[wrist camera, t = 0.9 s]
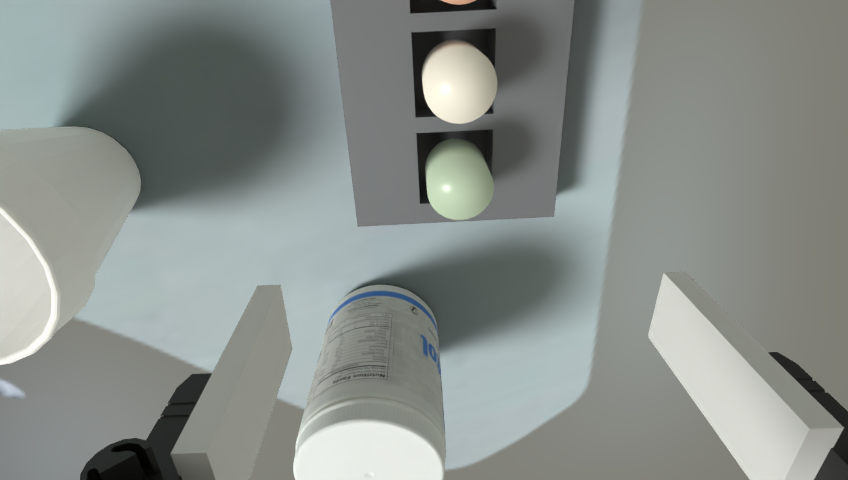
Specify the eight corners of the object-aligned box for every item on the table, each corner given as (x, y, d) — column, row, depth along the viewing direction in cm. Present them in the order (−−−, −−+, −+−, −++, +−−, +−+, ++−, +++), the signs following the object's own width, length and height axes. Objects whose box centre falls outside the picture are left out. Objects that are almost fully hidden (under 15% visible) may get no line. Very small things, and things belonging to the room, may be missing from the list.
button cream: (420, 41, 28) (421, 48, 25) (487, 37, 28) (498, 44, 25) (423, 109, 30) (424, 125, 26) (486, 106, 30) (496, 122, 26)
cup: (180, 259, 38) (73, 385, 26) (14, 229, 36) (-182, 349, 24) (179, 108, 32) (43, 179, 20) (-17, 65, 31) (-290, 115, 19)
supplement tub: (451, 348, 43) (469, 503, 30) (356, 378, 44) (334, 538, 32) (412, 263, 39) (414, 402, 26) (308, 299, 40) (260, 447, 27)
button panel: (324, -112, 27) (315, -123, 24) (570, -123, 27) (587, -136, 24) (361, 209, 36) (357, 226, 34) (543, 200, 36) (553, 216, 34)
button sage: (424, 139, 31) (425, 159, 27) (485, 136, 31) (494, 155, 27) (426, 196, 33) (428, 221, 29) (484, 193, 33) (493, 218, 29)
